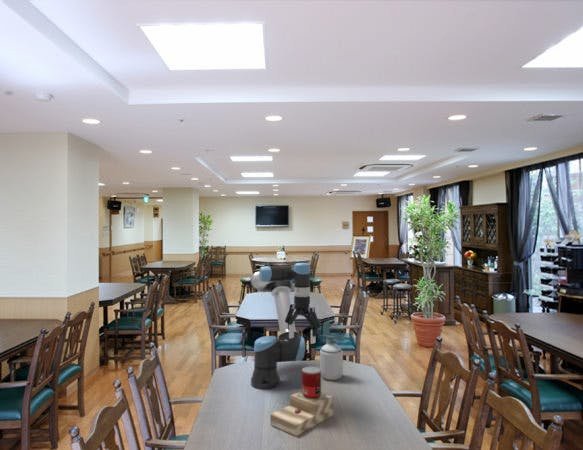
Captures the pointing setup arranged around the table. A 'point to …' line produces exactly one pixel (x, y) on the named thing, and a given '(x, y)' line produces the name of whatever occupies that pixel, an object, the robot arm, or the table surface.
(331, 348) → the soap bottle
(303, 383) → the canned food
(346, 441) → the table surface
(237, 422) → the table surface
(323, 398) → the stand
